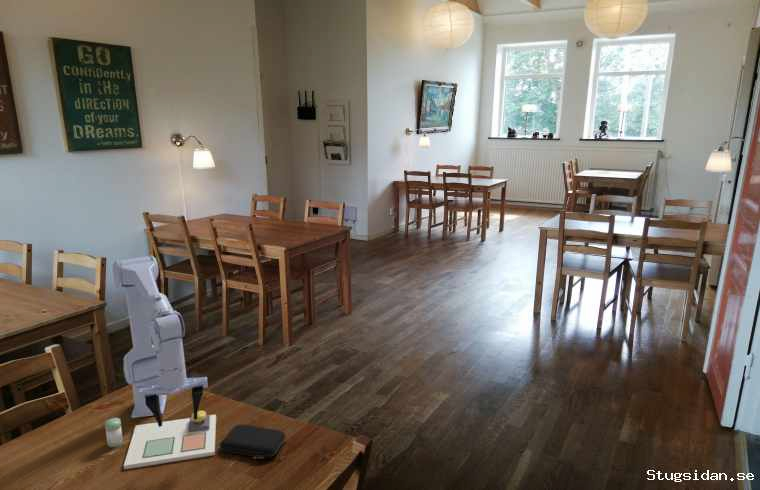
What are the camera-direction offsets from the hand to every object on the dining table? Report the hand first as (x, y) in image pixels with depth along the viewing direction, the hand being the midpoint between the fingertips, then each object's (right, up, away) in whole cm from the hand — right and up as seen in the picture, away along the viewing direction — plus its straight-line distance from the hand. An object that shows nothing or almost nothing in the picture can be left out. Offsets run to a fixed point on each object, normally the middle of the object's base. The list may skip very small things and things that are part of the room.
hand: (178, 421), depth 116 cm
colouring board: (-5, -9, +9) cm, 13 cm away
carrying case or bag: (+15, -10, +8) cm, 20 cm away
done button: (0, -5, +14) cm, 15 cm away
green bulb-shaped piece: (-19, -8, +8) cm, 23 cm away
